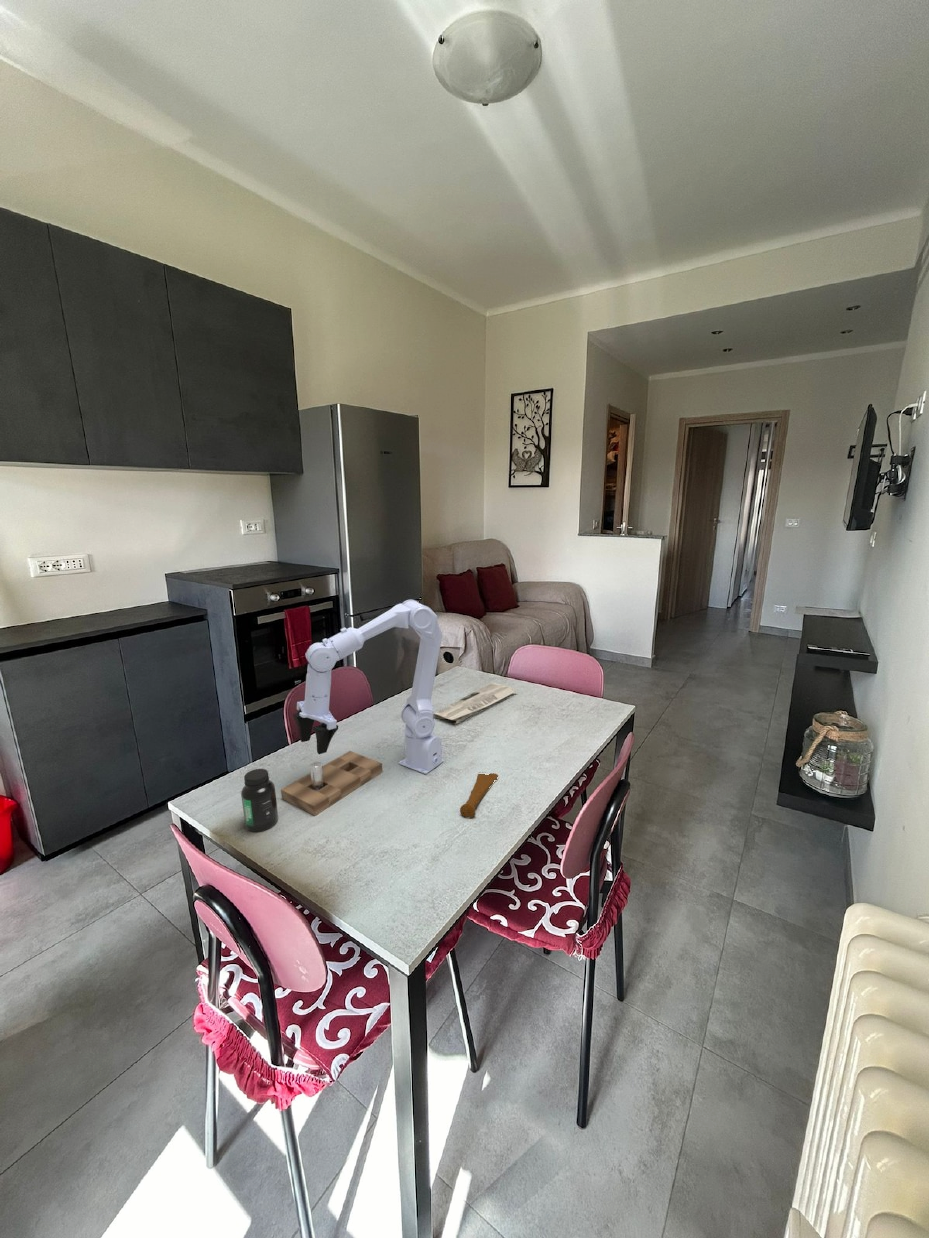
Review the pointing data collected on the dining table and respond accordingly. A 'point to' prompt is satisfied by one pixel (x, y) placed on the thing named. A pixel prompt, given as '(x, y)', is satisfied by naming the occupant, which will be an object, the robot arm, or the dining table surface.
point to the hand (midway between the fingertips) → (313, 746)
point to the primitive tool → (477, 794)
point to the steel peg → (316, 776)
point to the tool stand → (332, 782)
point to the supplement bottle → (259, 801)
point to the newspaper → (474, 702)
